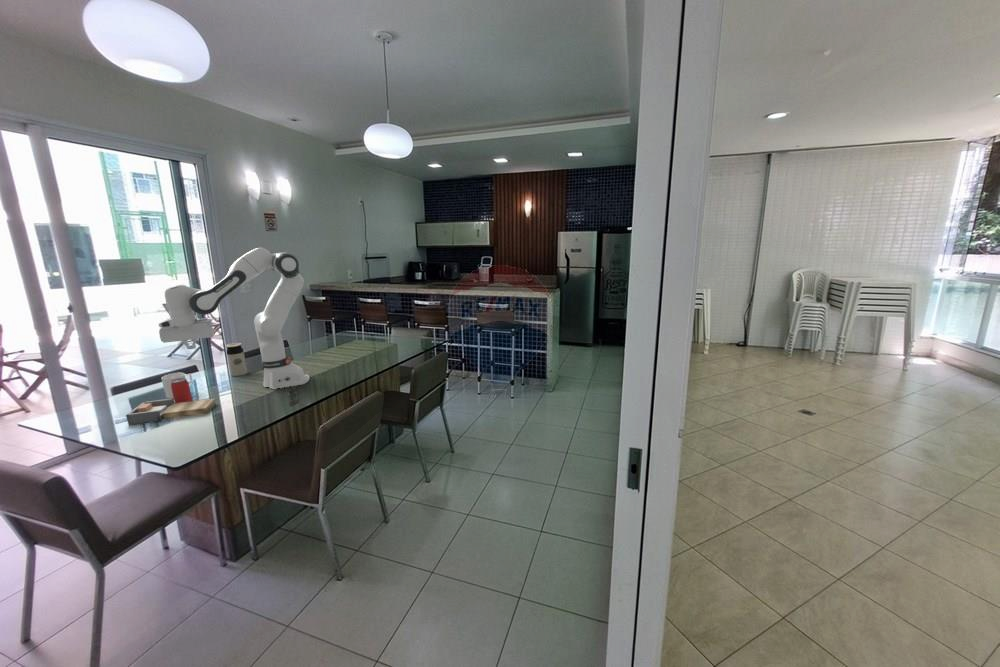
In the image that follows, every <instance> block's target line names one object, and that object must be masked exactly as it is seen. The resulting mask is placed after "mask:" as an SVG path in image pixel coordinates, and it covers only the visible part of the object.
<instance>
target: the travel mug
mask: <svg viewBox="0 0 1000 667" xmlns="http://www.w3.org/2000/svg"><path fill="white" fill-rule="evenodd" d="M225 347H226V351H225V352H226V356H227V361H228V364H229V371H230V376H232V377H240V376H239V375H241V376H244V375H246V374H248V368H247V362H246V358H245V353H244V348H243V347H242V343H241V342H233V343H228V344H226V345H225Z"/></svg>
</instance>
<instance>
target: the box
mask: <svg viewBox="0 0 1000 667" xmlns="http://www.w3.org/2000/svg"><path fill="white" fill-rule="evenodd" d="M148 403H152V406H153V407H157V406H165V405H166V406H167V408H166V409H165V410H164V411H163V412H161V413H160V411H159V410H155V411H147V412H140V413H138V409H137V408H139V407H140V406H141V405H143V404H148ZM174 403H175V401H174V399H173V398H172V399H169V398H165V399H157V400H149V401H143V402H141V403H140V404H139V405H137V406H136V407H135V408H133V409H132V410H130V411H129V412H128V413H126V414H125V417H126V422H127V425H128V426H129V427H130V426H138V425H144V424H153V423H159V422H162V421H163V420H164V417H163V414H162V413H164V412H165V411H166V410H167V409H168V408H169V407H171V406H172V405H173V404H174Z"/></svg>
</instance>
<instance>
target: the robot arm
mask: <svg viewBox="0 0 1000 667" xmlns="http://www.w3.org/2000/svg"><path fill="white" fill-rule="evenodd" d="M299 268H300V264H299V260H298V259H297V257H296V256H295V255H293V254H291V253H288V252H285V251H283V252H282V251H281V252H280V251H279V252H278V251H277V252H270V251H269V250H268V249H266V248H264V247H257V248H254V249H251V250H250V251H248V252H246V253H245V254H243V255H242V256H240V257H239V258H237V259H236V260H235V261H234V262H233V263H232V264H231V266H230V267H229V270H228V272H227V274H226V276H225V277H224V278H221V280H219V282H217V283H216V284H214V285H213V286H212V287H210V288H209V289H207V290H206V289H200V288H195V287H191V286H187V285H185V284H176V285H172V286H170V287H167V288H166V289H165V291H164V299H165V303H166V307H167V308H168V310H169V317H170V318H168V319H167V318H166V320H163V321H160V322H159V323H158V327H159V332H158V333H159V334H158V335H159V339H160V342H162V343H163V344H164V343H165V344H166V343H173V342H182V344H183V345H184V346H185V347H186V349H187V350H194V349H197V345H196V344H197V341H198V340H199V339H200V340H202V339H210V338H213V337H214V336H215V334H216V333H215V329H214V327H213V323H212V322H213V321H212V320H211V319H208V318H205V317H204V318H196V315H195V313H196V314H200V315H209V314H213V312H215V311H216V310H217V309H218V307H219V305H220V303H221V301H222V300H223V299H224V298H226V297H227V296H228V295H229V294H231V293H232V292H233V291H234V290H235V289H237V288H239V287H240V286H242V285H244V284H246V283H248V282H249V281H252V280H253V279H255V278H256V277H258V276H260V275H261V274H262V273H264V271H266V270H269V269H271V270H273V271H274V272H276V273H279V274H280V279H279V281H278V283H277V284H276V286H275V288H274V290H273V291H272V293H271V295H270V296H269V298H268V300H267V303H266V306H265V308H264V309H263V311H261V312H258V313H257V314H256V315H255V316H254V319H253V324H254V330H255V333H256V338H257V341H258V345H259V351H260V356H261V368H262V371H263V383H262V386H264V387H263V388H265V387H269V388H268V389H271V388H272V389H271V390H278V389H277V388H280V389H285V388H290V386H291V387H296V386H300V385H302V386H303V385H305V384H306V383H308V382H309V381H310V378H311V377H310V375H309V374H306V373H305V372H304V369H303V368H302V367H301V366H299V365H297V364H295V363H292V361H291V357H288V356H286V352H285V344H284V341H283V337H282V333H281V332H282V329H283V327H284V324H285V323H286V320H287V318H288V316H289V313H290V310H291V308H292V306H293V305H294V303H295V302H296V300H297V298H298V297H299V295H300V293H301V291H302V288H303V286H304V283H305V278H304V277H303V275H301V274H300V270H299ZM188 341H191V343H192V344H190V343H188ZM284 387H285V388H284Z"/></svg>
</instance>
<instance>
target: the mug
mask: <svg viewBox="0 0 1000 667" xmlns="http://www.w3.org/2000/svg"><path fill="white" fill-rule="evenodd" d="M186 376H189V380H190V382H189V387H190V388H191V387H192V386H193V376H192V373H187V374H186V373H184V372H173V373H172V372H171V373H168V374H164V375H163V376H161V383H162V386H163V390H164V394H165V397H166V399H172V398H173V400H174V397H173V393H172V389H171V382H172V381H173V380H176V379H180V378H185V379H186Z"/></svg>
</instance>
